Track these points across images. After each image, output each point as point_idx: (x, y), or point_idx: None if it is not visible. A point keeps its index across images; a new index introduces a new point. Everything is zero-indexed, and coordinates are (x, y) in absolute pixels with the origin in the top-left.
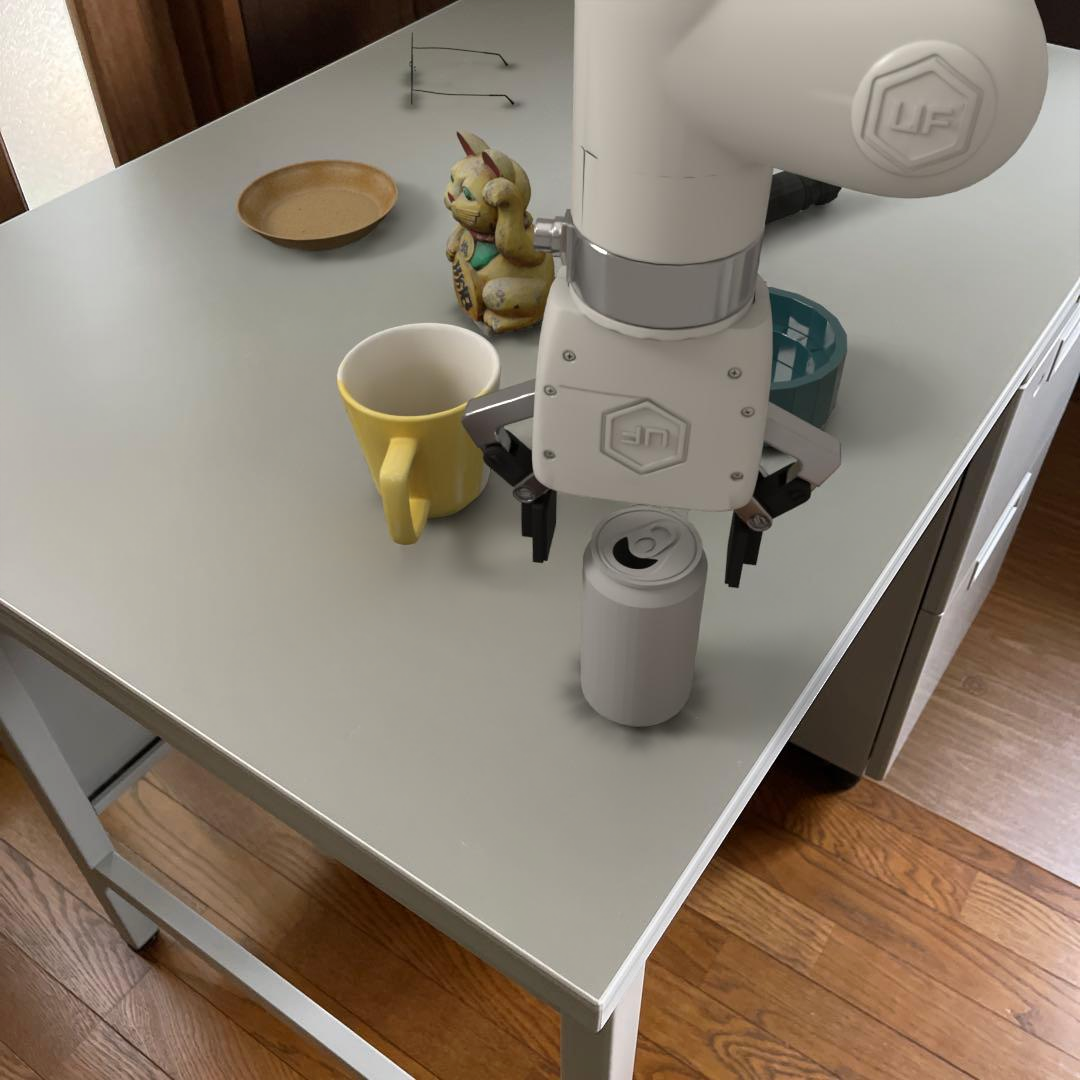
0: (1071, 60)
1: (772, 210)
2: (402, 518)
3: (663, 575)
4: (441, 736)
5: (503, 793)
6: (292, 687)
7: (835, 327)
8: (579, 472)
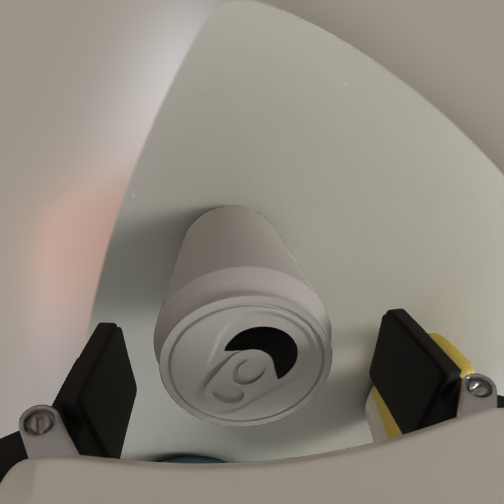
0: None
1: None
2: (446, 348)
3: (209, 322)
4: (380, 177)
5: (326, 129)
6: (468, 208)
7: None
8: (492, 476)
